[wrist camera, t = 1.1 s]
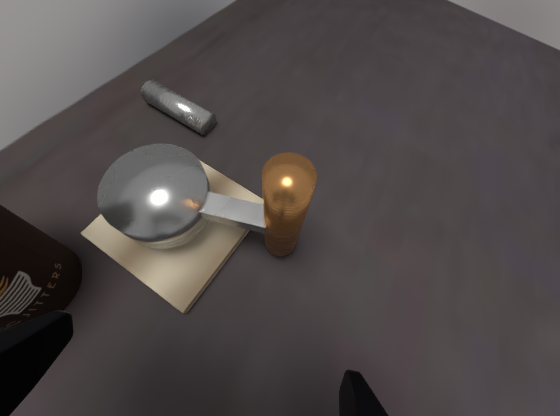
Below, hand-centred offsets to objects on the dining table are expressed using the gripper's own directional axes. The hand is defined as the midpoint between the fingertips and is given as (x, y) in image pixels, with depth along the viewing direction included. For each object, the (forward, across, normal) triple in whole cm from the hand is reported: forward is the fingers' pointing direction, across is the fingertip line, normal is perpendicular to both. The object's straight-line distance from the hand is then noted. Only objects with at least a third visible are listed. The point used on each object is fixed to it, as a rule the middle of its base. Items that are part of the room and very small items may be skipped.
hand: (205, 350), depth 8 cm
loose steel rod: (+23, +12, -6) cm, 27 cm away
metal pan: (+13, +4, +2) cm, 14 cm away
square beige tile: (+15, +7, +3) cm, 17 cm away
